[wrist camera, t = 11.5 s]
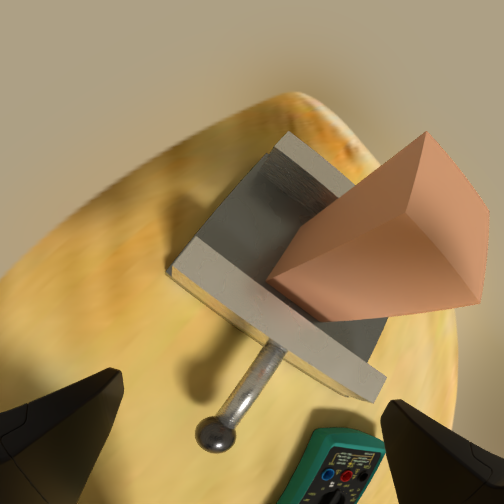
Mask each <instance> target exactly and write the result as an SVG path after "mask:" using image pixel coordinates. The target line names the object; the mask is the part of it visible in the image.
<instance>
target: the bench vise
mask: <svg viewBox="0 0 504 504" xmlns="http://www.w3.org/2000/svg"><path fill="white" fill-rule="evenodd" d="M354 186H355V185H354V184H353V183H352V182H351V181H350V180H349V179H348V178H346V177H345V176H344V175H343V174H342V173H341V172H339V171H338V170H337V169H336V168H335V167H334V166H332V165H331V164H330V163H329V162H328V161H326V160H325V159H324V158H323V157H322V156H320V155H319V154H318V153H317V152H315V151H314V150H313V149H312V148H310V147H309V146H308V145H306V144H305V143H304V142H303V141H301V140H300V139H299V138H297V137H296V136H295V135H293V134H292V133H291V132H289V131H288V132H287V133H286V134H285V135H284V136H283V137H282V138H281V140H280V141H279V142H278V143H277V144H276V145H275V146H274V147H273V149H272V151H271V152H270V154H267V153H266V154H265V155H264V156H263V157H262V158H261V160H260V161H259V162H258V163H257V164H256V165H255V166H254V167H253V168H252V169H251V171H250V172H249V173H248V174H247V175H246V176H245V177H244V178H243V180H242V181H241V182H240V183H239V184H238V185H237V186H236V187H235V189H234V190H233V191H232V192H231V193H230V194H229V195H228V197H227V198H226V199H225V200H224V201H223V202H222V204H221V205H220V206H219V207H218V208H217V209H216V211H215V212H214V213H213V214H212V215H211V216H210V218H209V219H208V220H207V221H206V222H205V224H204V225H203V226H202V227H201V228H200V230H199V231H198V232H197V233H196V234H195V236H194V237H193V238H192V239H191V241H190V242H189V243H188V244H187V245H186V247H185V248H184V249H183V250H182V252H181V253H180V254H179V255H178V257H177V258H176V259H175V260H174V262H173V263H172V264H171V265H170V267H169V268H168V269H167V270H166V272H165V273H166V275H167V276H168V277H169V278H171V279H172V280H173V281H174V282H176V283H177V284H178V285H180V286H181V287H182V288H183V289H185V290H186V291H187V292H189V293H190V294H191V295H193V296H194V297H195V298H197V299H198V300H199V301H201V302H202V303H203V304H205V305H206V306H207V307H209V308H210V309H211V310H213V311H214V312H215V313H217V314H218V315H219V316H221V317H222V318H224V319H225V320H226V321H228V322H229V323H231V324H232V325H233V326H235V327H236V328H238V329H239V330H240V331H242V332H243V333H245V334H246V335H248V336H249V337H251V338H252V339H253V340H255V341H256V342H258V343H259V344H261V345H262V346H263V348H262V349H261V351H260V352H259V354H258V355H257V357H256V358H255V360H254V361H253V363H252V364H251V366H250V367H249V368H248V370H247V371H246V373H245V374H244V376H243V377H242V379H241V380H240V382H239V383H238V384H237V386H236V387H235V389H234V390H233V392H232V393H231V394H230V396H229V397H228V399H227V400H226V401H225V403H224V404H223V405H222V407H221V408H220V410H219V411H218V412H217V414H216V415H215V416H211V417H207V418H205V419H203V420H202V421H201V422H200V423H199V424H198V425H197V427H196V430H195V439H196V441H197V443H198V445H199V446H200V447H201V448H202V449H203V450H205V451H207V452H210V453H223V452H226V451H228V450H229V449H230V448H231V447H232V446H233V445H234V443H235V440H236V431H235V428H236V427H237V425H238V424H239V423H240V421H241V420H242V419H243V417H244V416H245V414H246V413H247V412H248V410H249V409H250V407H251V406H252V405H253V403H254V402H255V400H256V399H257V397H258V396H259V394H260V393H261V392H262V390H263V389H264V387H265V386H266V384H267V383H268V381H269V380H270V378H271V377H272V375H273V374H274V372H275V371H276V369H277V368H278V366H279V364H280V363H281V361H282V360H285V361H286V362H288V363H290V364H291V365H293V366H294V367H296V368H297V369H299V370H300V371H302V372H304V373H305V374H307V375H308V376H310V377H312V378H313V379H315V380H317V381H318V382H320V383H321V384H323V385H325V386H326V387H328V388H330V389H331V390H333V391H335V392H337V393H338V394H340V395H342V396H345V397H352V398H356V399H359V400H362V401H366V402H370V403H373V404H374V402H375V400H376V398H377V396H378V394H379V392H380V390H381V388H382V386H383V384H384V382H385V380H386V378H387V377H386V376H385V375H383V374H382V373H380V372H379V371H378V370H376V369H375V368H373V367H372V366H370V365H369V364H368V363H367V362H368V360H369V358H370V356H371V354H372V352H373V350H374V348H375V346H376V344H377V341H378V339H379V337H380V335H381V333H382V330H383V328H384V326H385V324H386V321H387V319H388V317H383V318H373V319H362V320H349V321H335V322H319V321H318V320H317V319H315V318H314V317H312V316H311V315H310V314H308V313H307V312H306V311H304V310H303V309H302V308H300V307H299V306H298V305H296V304H295V303H293V302H292V301H291V300H289V299H288V298H287V297H285V296H284V295H283V294H281V293H280V292H279V291H277V290H276V289H275V288H273V287H272V286H271V285H269V284H268V283H267V282H265V281H266V279H267V278H268V276H269V275H270V273H271V272H272V270H273V269H274V267H275V266H276V264H277V262H278V261H279V259H280V258H281V256H282V255H283V253H284V252H285V250H286V249H287V247H288V246H289V244H290V243H291V241H292V239H293V238H294V236H295V235H296V233H297V232H298V230H299V229H300V227H301V226H302V225H304V224H305V223H306V222H308V221H309V220H310V219H312V218H313V217H314V216H316V215H317V214H318V213H320V212H321V211H322V210H324V209H325V208H326V207H328V206H329V205H330V204H332V203H333V202H334V201H335V200H337V199H338V198H339V197H341V196H342V195H343V194H345V193H346V192H347V191H349V190H350V189H351V188H353V187H354Z"/></svg>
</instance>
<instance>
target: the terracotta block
mask: <svg viewBox="0 0 504 504" xmlns="http://www.w3.org/2000/svg"><path fill="white" fill-rule="evenodd" d="M488 238H489V210H488V208H487V207H486V205H485V204H484V202H483V201H482V199H481V198H480V196H479V195H478V193H477V192H476V190H475V189H474V188H473V186H472V185H471V184H470V182H469V181H468V179H467V178H466V177H465V176H464V174H463V173H462V172H461V170H460V169H459V168H458V166H457V165H456V164H455V163H454V162H453V160H452V159H451V158H450V157H449V156H448V154H447V153H446V152H445V151H444V150H443V148H442V147H441V146H440V145H439V144H438V143H437V142H436V141H435V139H434V138H433V137H432V136H431V135H430V134H429V133H428V132H427V131H426V132H424V133H423V134H422V135H420V136H419V137H418V138H417V139H415V140H414V141H413V142H411V143H410V144H409V145H408V146H406V147H405V148H404V149H402V150H401V151H400V152H398V153H397V154H396V155H395V156H393V157H392V158H391V159H389V160H388V161H387V162H385V163H384V164H383V165H381V166H380V167H379V168H378V169H376V170H375V171H374V172H372V173H371V174H370V175H368V176H367V177H366V178H364V179H363V180H362V181H361V182H359V183H358V184H357V185H355V186H354V187H353V188H351V189H350V190H349V191H347V192H346V193H345V194H343V195H342V196H341V197H339V198H338V199H337V200H335V201H334V202H333V203H332V204H330V205H329V206H328V207H326V208H325V209H324V210H322V211H321V212H320V213H318V214H317V215H316V216H314V217H313V218H312V219H310V220H309V221H308V222H306V223H305V224H304V225H302V226H301V227H300V229H299V230H298V232H297V233H296V235H295V236H294V238H293V239H292V241H291V243H290V244H289V246H288V247H287V249H286V250H285V252H284V253H283V255H282V256H281V258H280V259H279V261H278V262H277V264H276V266H275V267H274V269H273V270H272V272H271V273H270V275H269V276H268V278H267V279H266V281H265V282H267V283H268V284H269V285H271V286H272V287H273V288H275V289H276V290H277V291H279V292H280V293H281V294H283V295H284V296H285V297H287V298H288V299H289V300H291V301H292V302H293V303H295V304H296V305H298V306H299V307H300V308H302V309H303V310H304V311H306V312H307V313H308V314H310V315H311V316H312V317H314V318H315V319H317V320H318V321H319V322H335V321H349V320H362V319H373V318H383V317H392V316H401V315H410V314H417V313H425V312H432V311H439V310H446V309H452V308H458V307H464V306H470V305H475V304H480V302H481V296H482V291H483V285H484V277H485V270H486V261H487V250H488Z"/></svg>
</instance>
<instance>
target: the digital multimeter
mask: <svg viewBox="0 0 504 504" xmlns="http://www.w3.org/2000/svg"><path fill="white" fill-rule="evenodd" d="M385 453H386V451H385V445H384V442H383V441H381V440H380V439H378V438H376V437H373V436H371V435H368V434H366V433H363V432H361V431H359V430H355V429H350V428H337V427H333V428H318V429H316V430H315V431H314V432H313V434H312V437H311V439H310V441H309V444H308V446H307V448H306V450H305V453H304V455H303V457H302V459H301V461H300V463H299V465H298V467H297V469H296V471H295V472H294V474H293V476H292V478H291V480H290V482H289V484H288V485H287V487H286V489H285V491H284V493H283V494H282V496H281V497H280V499H279V500H278V502H277V503H276V504H357V502H358V501H359V499H360V498H361V496H362V494H363V493H364V491H365V489H366V488H367V486H368V484H369V483H370V481H371V479H372V477H373V476H374V474H375V472H376V470H377V468H378V467H379V465H380V463H381V461H382V459H383V457H384V455H385ZM310 484H311V485H310ZM307 489H308V490H307ZM337 489H339V490H337ZM304 494H305V495H304ZM301 499H302V500H301ZM299 502H300V503H299Z"/></svg>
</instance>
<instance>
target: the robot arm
mask: <svg viewBox="0 0 504 504" xmlns="http://www.w3.org/2000/svg"><path fill="white" fill-rule="evenodd" d="M123 394H124V385H123V377H122V372H121V371H120V370H118V369H114V368H111V367H109V368H107V369H104V370H102V371H100V372H98V373H96V374H94V375H91V376H89V377H87V378H85V379H82V380H80V381H78V382H76V383H73V384H71V385H69V386H67V387H64V388H62V389H60V390H57V391H55V392H53V393H50V394H48V395H46V396H43V397H41V398H39V399H36V400H34V401H31V402H29V403H28V404H27V403H26V404H24V405H21V406H19V407H16V408H13V409H11V410H8V411H5V412H1V413H0V504H77V502H78V500H79V497H80V495H81V493H82V491H83V488H84V486H85V484H86V482H87V480H88V478H89V475H90V473H91V471H92V469H93V467H94V465H95V463H96V460H97V458H98V456H99V454H100V452H101V450H102V448H103V446H104V444H105V442H106V440H107V438H108V436H109V433H110V431H111V429H112V426H113V423H114V420H115V417H116V414H117V411H118V409H119V406H120V403H121V400H122V397H123ZM380 423H381V428H382V434H383V439H384V445H385V451H386V456H387V460H388V464H389V467H390V471H391V475H392V478H393V482H394V486H395V490H396V494H397V498H398V502H399V504H504V459H503V458H501V457H499V456H497V455H494V454H492V453H490V452H488V451H486V450H484V449H482V448H480V447H479V446H477V445H475V444H473V443H472V442H469V441H468V440H466V439H465V438H463V437H461V436H460V435H458V434H456V433H455V432H453V431H451V430H450V429H448V428H446V427H445V426H443V425H441V424H440V423H438V422H436V421H435V420H433V419H432V418H430V417H428V416H427V415H425V414H424V413H422V412H420V411H419V410H417V409H416V408H414V407H412V406H411V405H409V404H408V403H406V402H405V401H403V400H401V399H397V400H391V401H390V402H389V403H388V405H387V407H386V409H385V410H384V412H383V414H382V416H381V420H380Z"/></svg>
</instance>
